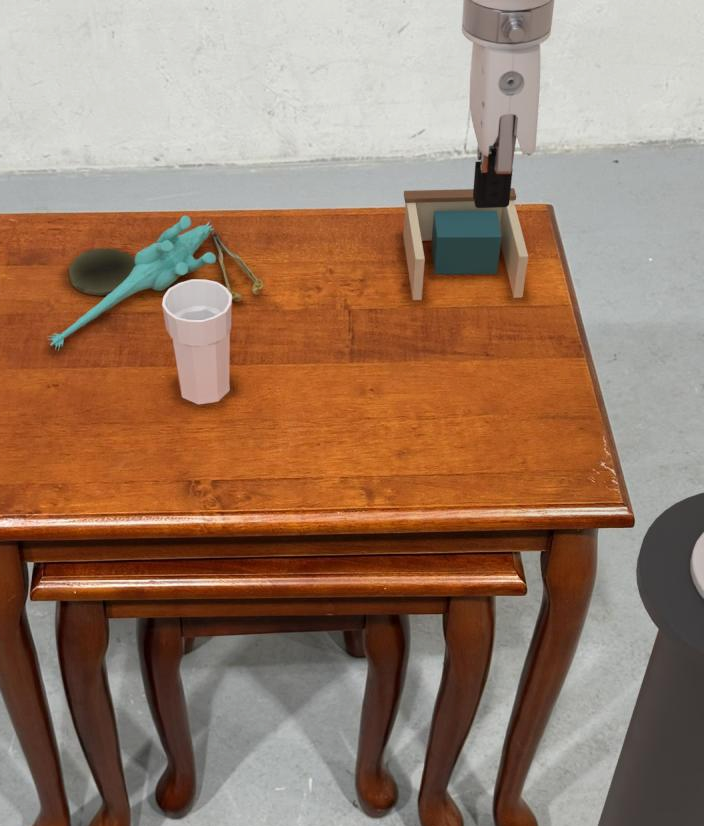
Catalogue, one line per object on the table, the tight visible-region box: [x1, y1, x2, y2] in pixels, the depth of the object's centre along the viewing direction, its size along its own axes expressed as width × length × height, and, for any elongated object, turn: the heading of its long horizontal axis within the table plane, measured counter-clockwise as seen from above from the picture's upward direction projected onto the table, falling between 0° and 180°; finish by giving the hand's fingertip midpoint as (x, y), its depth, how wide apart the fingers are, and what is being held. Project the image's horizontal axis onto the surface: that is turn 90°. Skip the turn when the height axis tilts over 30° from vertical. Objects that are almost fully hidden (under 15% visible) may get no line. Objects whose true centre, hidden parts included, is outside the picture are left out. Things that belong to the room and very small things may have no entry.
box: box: [430, 211, 502, 275], centre depth 143 cm, size 5×7×5 cm
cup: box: [161, 278, 233, 405], centre depth 126 cm, size 7×7×11 cm
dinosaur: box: [46, 215, 217, 351], centre depth 138 cm, size 6×25×8 cm
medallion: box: [68, 247, 136, 296], centre depth 143 cm, size 8×8×1 cm
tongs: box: [210, 231, 264, 303], centre depth 143 cm, size 4×13×2 cm, turn 25°
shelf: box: [402, 187, 529, 301], centre depth 142 cm, size 12×12×6 cm
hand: (490, 202), depth 121 cm, fingers closed
